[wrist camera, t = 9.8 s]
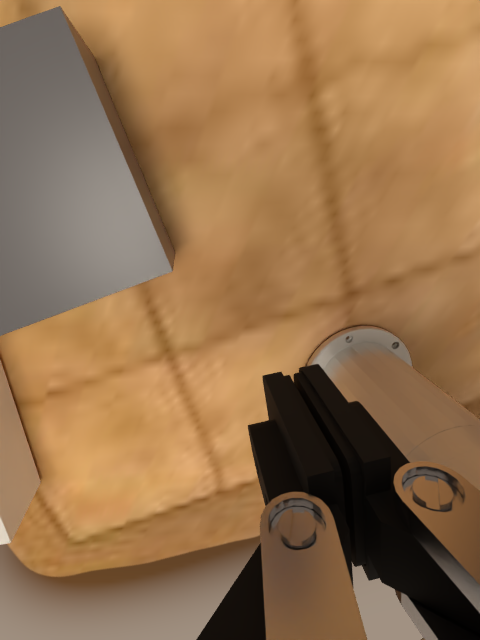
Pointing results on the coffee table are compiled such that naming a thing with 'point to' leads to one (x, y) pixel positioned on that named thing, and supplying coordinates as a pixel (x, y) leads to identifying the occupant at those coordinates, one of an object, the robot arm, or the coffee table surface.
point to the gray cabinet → (66, 180)
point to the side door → (13, 466)
